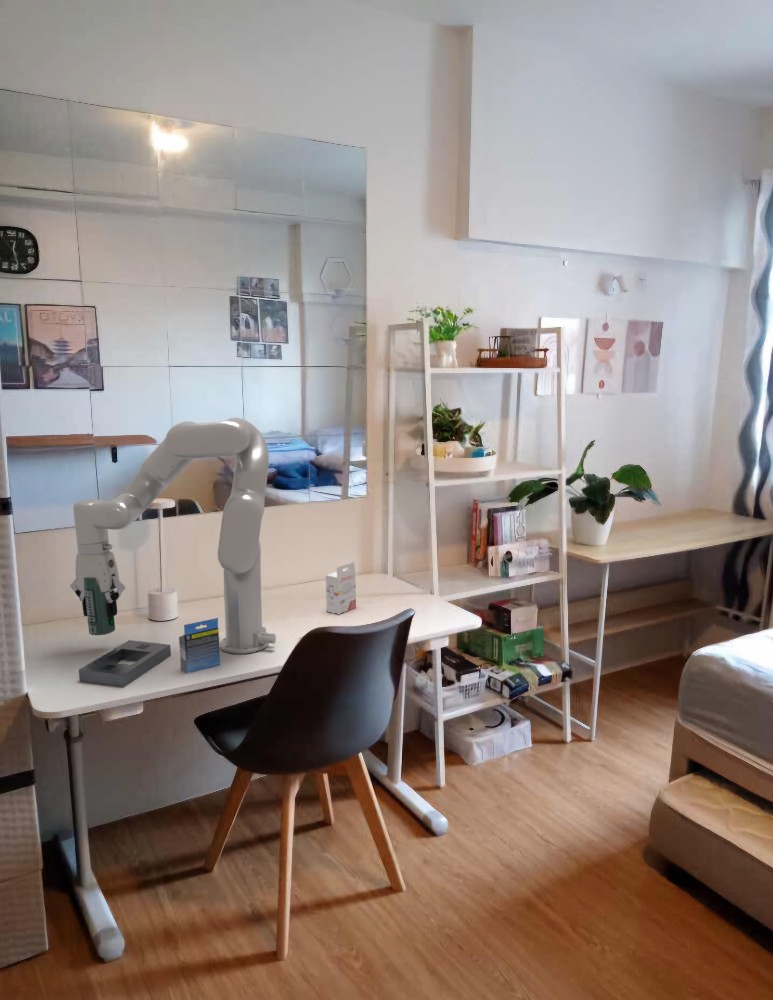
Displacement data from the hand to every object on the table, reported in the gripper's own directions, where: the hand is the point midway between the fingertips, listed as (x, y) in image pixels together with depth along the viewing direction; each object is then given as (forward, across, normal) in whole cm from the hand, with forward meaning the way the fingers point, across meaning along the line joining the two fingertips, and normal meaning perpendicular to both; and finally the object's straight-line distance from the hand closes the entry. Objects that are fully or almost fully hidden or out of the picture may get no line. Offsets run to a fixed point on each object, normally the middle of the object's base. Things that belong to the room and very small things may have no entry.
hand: (100, 614), depth 195 cm
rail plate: (+10, -13, +9) cm, 19 cm away
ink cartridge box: (+12, -49, -48) cm, 69 cm away
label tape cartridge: (+11, -30, +3) cm, 32 cm away
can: (+5, 0, 0) cm, 5 cm away
